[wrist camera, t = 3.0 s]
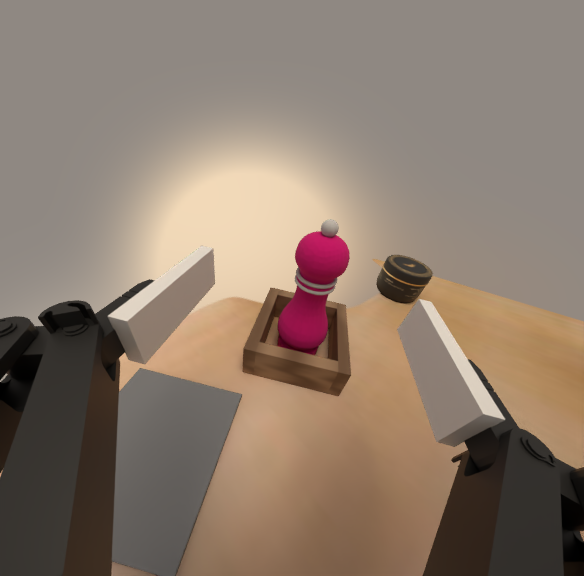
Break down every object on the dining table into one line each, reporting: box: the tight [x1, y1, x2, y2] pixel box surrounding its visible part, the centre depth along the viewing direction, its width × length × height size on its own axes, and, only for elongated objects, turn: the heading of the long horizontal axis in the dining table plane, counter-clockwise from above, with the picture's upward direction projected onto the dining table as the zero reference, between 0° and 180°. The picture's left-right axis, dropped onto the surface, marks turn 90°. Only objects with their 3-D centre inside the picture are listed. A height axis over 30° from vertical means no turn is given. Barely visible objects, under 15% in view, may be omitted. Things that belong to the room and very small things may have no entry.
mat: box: [112, 368, 242, 576], centre depth 20 cm, size 13×13×1 cm
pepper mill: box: [278, 219, 349, 355], centre depth 26 cm, size 7×7×20 cm
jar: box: [377, 255, 432, 303], centre depth 48 cm, size 10×10×8 cm
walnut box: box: [243, 288, 351, 396], centre depth 31 cm, size 13×13×5 cm
